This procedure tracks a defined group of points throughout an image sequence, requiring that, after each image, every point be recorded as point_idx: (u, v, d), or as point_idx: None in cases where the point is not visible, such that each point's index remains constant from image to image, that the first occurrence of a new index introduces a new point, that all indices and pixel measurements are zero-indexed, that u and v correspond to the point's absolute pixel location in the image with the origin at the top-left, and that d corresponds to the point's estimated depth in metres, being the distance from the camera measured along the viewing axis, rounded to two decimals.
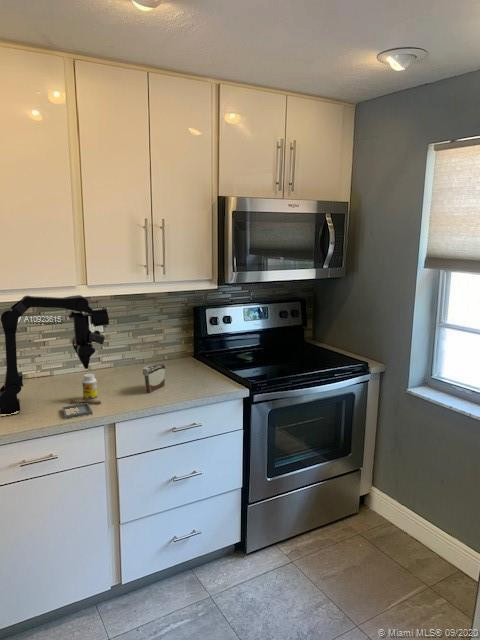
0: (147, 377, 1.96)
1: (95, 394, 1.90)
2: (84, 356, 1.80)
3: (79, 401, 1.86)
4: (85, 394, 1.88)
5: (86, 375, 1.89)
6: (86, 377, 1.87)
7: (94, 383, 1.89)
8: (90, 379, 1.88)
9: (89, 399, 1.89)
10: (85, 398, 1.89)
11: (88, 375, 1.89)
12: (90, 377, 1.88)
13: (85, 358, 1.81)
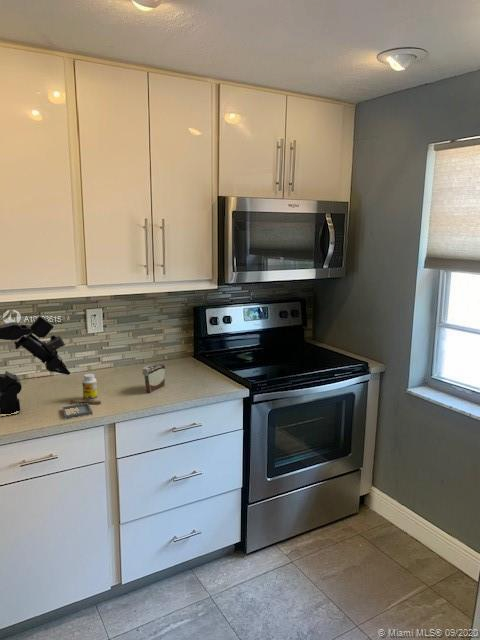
0: (147, 377, 1.96)
1: (95, 394, 1.90)
2: (58, 367, 1.77)
3: (79, 401, 1.86)
4: (85, 394, 1.88)
5: (86, 375, 1.89)
6: (86, 377, 1.87)
7: (94, 383, 1.89)
8: (90, 379, 1.88)
9: (89, 399, 1.89)
10: (85, 398, 1.89)
11: (88, 375, 1.89)
12: (90, 377, 1.88)
13: (60, 368, 1.78)
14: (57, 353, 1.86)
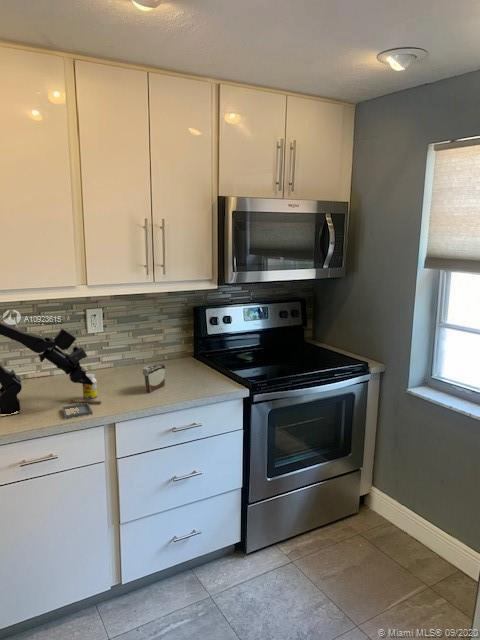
0: (147, 377, 1.96)
1: (95, 394, 1.90)
2: (81, 378, 1.82)
3: (79, 401, 1.86)
4: (85, 394, 1.88)
5: (86, 375, 1.89)
6: None
7: (94, 384, 1.89)
8: (90, 379, 1.88)
9: (89, 399, 1.89)
10: (85, 398, 1.89)
11: (88, 375, 1.89)
12: (90, 377, 1.88)
13: (83, 379, 1.83)
14: (79, 364, 1.92)
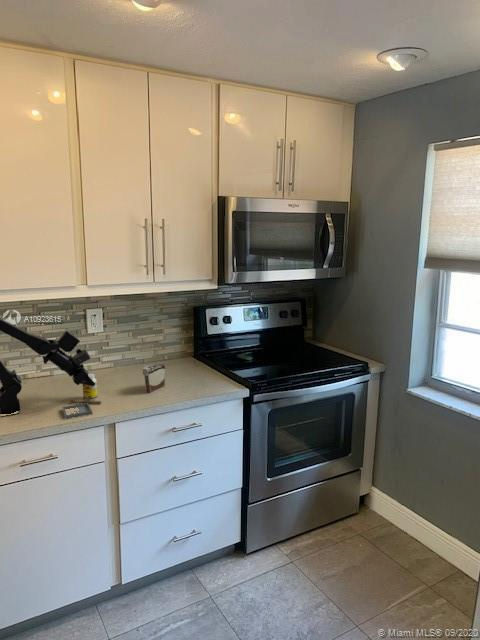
0: (147, 377, 1.96)
1: (95, 394, 1.90)
2: (84, 379, 1.84)
3: (79, 401, 1.86)
4: (85, 394, 1.88)
5: None
6: None
7: None
8: None
9: (89, 399, 1.89)
10: (85, 398, 1.89)
11: (88, 375, 1.89)
12: (90, 377, 1.88)
13: (86, 380, 1.85)
14: (83, 367, 1.91)
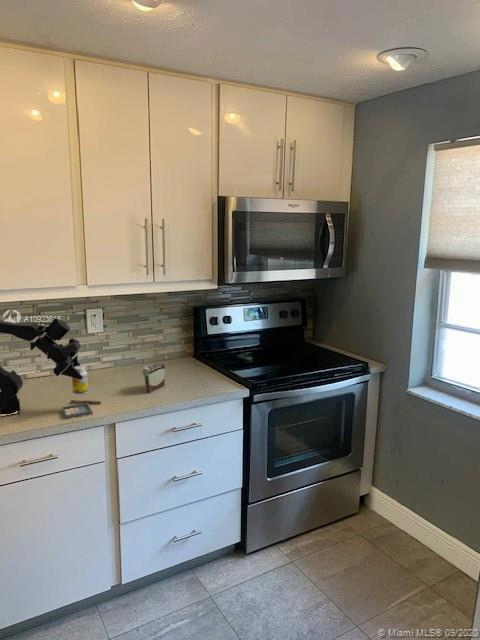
0: (147, 377, 1.96)
1: (83, 388, 1.77)
2: (69, 371, 1.73)
3: (79, 401, 1.86)
4: (73, 387, 1.77)
5: (76, 367, 1.77)
6: None
7: None
8: None
9: (76, 393, 1.77)
10: (73, 391, 1.78)
11: (78, 367, 1.77)
12: (78, 370, 1.76)
13: (71, 372, 1.73)
14: (76, 358, 1.80)
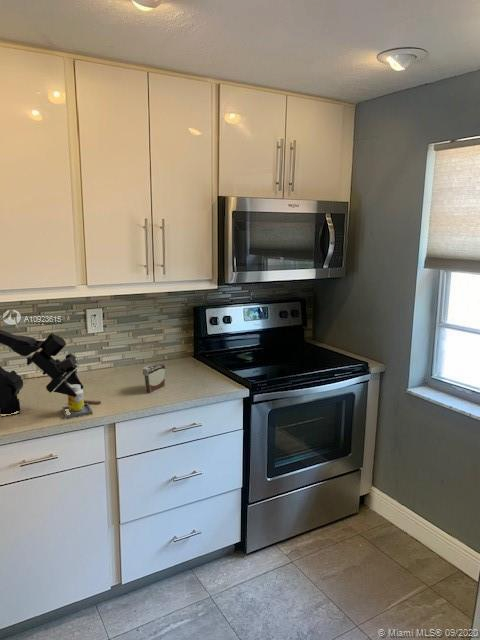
0: (147, 377, 1.96)
1: (78, 407, 1.75)
2: (62, 388, 1.70)
3: None
4: (69, 406, 1.75)
5: (72, 385, 1.76)
6: None
7: (77, 396, 1.74)
8: (73, 390, 1.74)
9: (72, 412, 1.75)
10: (69, 409, 1.76)
11: (73, 386, 1.75)
12: (73, 388, 1.74)
13: (65, 389, 1.70)
14: (74, 372, 1.79)
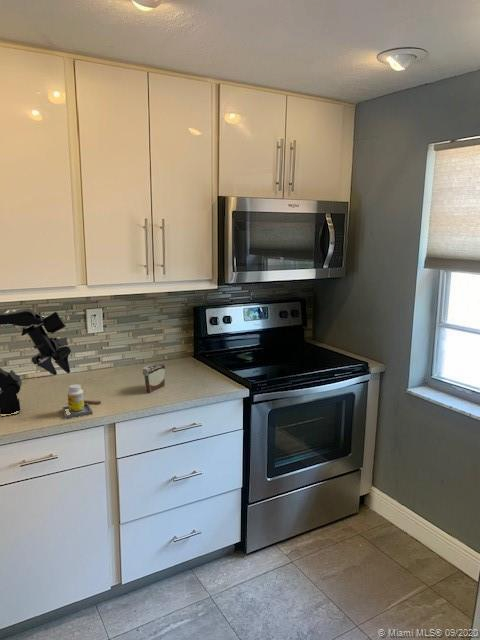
0: (147, 377, 1.96)
1: (78, 407, 1.75)
2: (62, 361, 1.75)
3: None
4: (69, 406, 1.75)
5: (72, 386, 1.75)
6: (70, 388, 1.74)
7: (77, 396, 1.74)
8: (73, 391, 1.74)
9: (72, 412, 1.75)
10: (69, 409, 1.76)
11: (73, 386, 1.75)
12: (73, 388, 1.74)
13: (64, 362, 1.75)
14: (51, 358, 1.83)
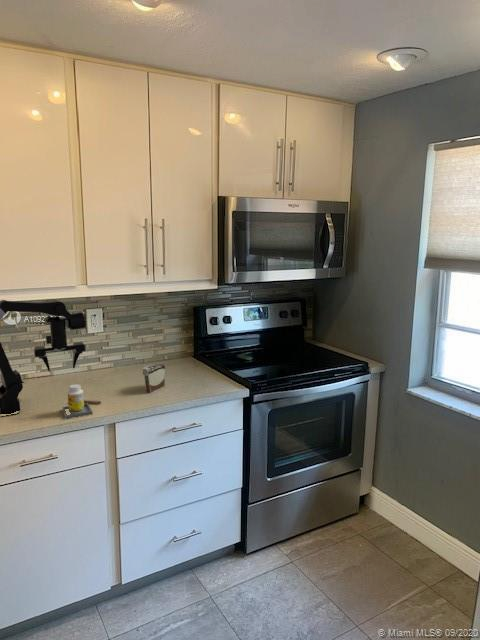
0: (147, 377, 1.96)
1: (78, 407, 1.75)
2: None
3: None
4: (69, 406, 1.75)
5: (72, 386, 1.75)
6: (70, 388, 1.74)
7: (77, 396, 1.74)
8: (73, 391, 1.74)
9: (72, 412, 1.75)
10: (69, 409, 1.76)
11: (73, 386, 1.75)
12: (73, 388, 1.74)
13: None
14: None
